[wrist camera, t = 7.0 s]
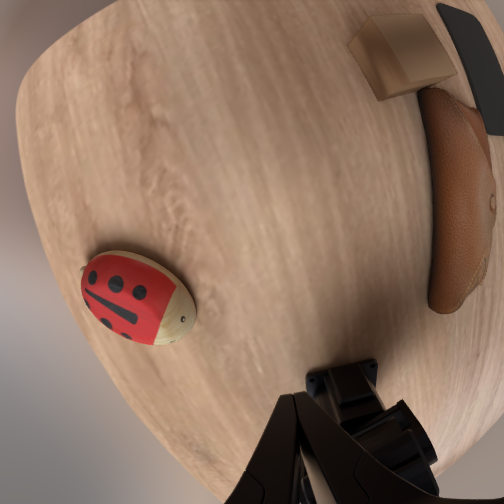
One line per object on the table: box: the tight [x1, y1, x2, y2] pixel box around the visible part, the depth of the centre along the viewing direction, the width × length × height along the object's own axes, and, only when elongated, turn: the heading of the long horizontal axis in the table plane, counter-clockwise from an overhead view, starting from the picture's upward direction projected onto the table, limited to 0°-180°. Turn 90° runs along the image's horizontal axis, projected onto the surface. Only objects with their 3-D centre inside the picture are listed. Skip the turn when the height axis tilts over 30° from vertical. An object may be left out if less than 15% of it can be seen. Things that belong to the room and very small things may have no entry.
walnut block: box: [347, 14, 458, 101], centre depth 13 cm, size 5×5×5 cm
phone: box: [436, 3, 504, 136], centre depth 15 cm, size 7×1×15 cm
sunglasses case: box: [418, 88, 496, 314], centre depth 17 cm, size 18×7×7 cm
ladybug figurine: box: [80, 250, 196, 345], centre depth 18 cm, size 7×10×4 cm
